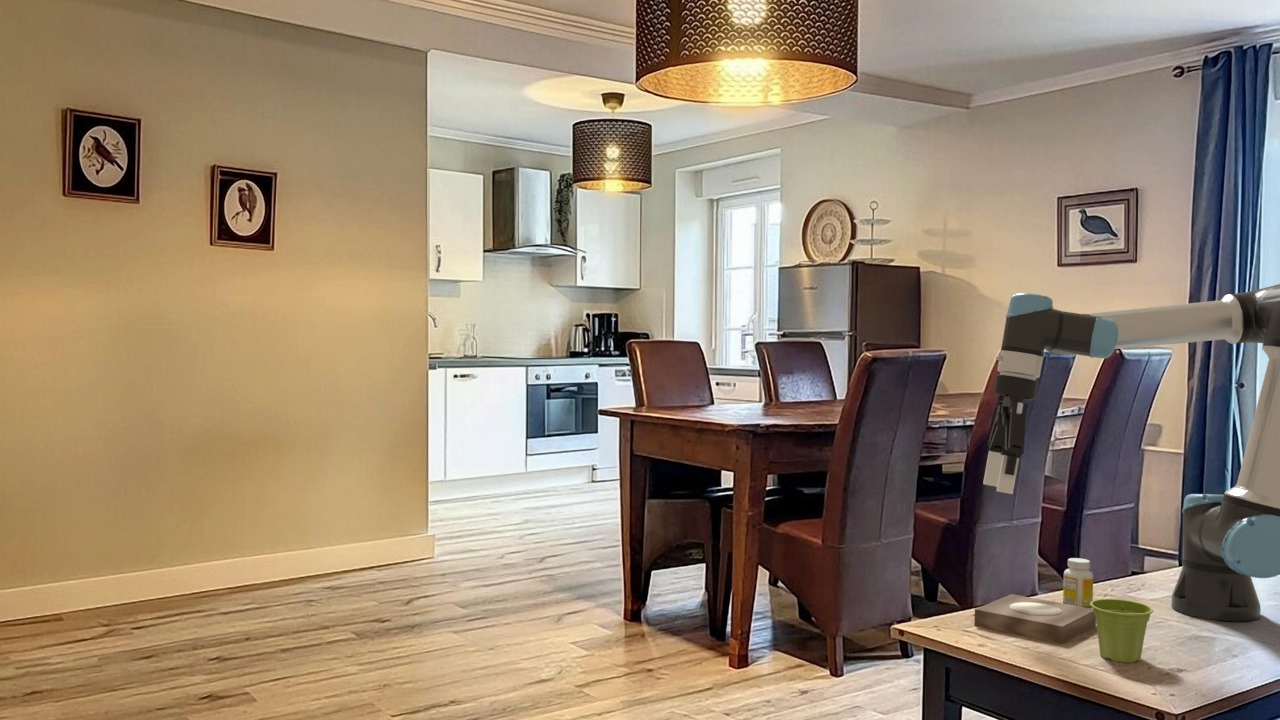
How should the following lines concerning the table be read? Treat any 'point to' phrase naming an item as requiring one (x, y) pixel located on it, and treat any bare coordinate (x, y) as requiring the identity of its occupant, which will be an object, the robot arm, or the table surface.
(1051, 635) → the walnut plinth
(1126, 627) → the plant pot
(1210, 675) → the table surface
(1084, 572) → the supplement bottle
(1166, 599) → the table surface
